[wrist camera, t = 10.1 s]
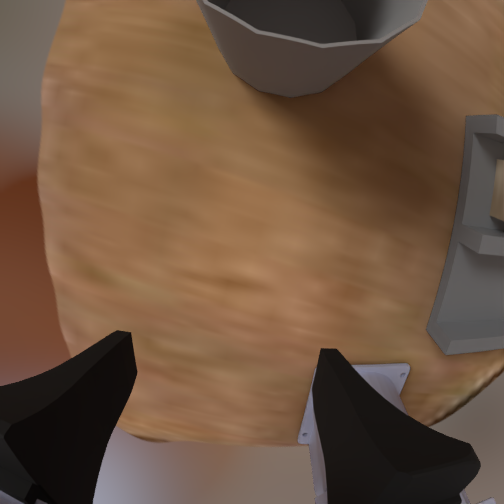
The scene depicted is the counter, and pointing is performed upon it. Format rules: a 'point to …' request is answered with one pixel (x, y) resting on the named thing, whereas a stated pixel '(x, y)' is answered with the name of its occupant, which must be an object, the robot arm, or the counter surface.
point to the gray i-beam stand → (474, 251)
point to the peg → (498, 192)
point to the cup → (303, 38)
